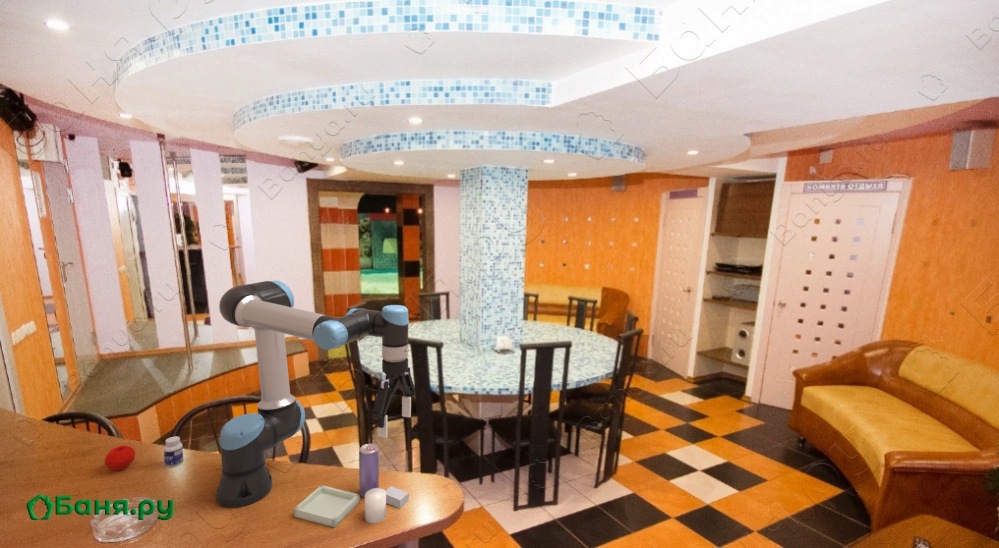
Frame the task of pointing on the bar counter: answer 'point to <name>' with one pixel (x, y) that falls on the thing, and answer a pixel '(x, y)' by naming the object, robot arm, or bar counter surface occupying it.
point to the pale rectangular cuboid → (396, 497)
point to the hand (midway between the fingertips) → (395, 426)
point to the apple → (120, 458)
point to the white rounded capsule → (375, 505)
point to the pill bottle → (173, 452)
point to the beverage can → (368, 468)
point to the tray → (327, 506)
